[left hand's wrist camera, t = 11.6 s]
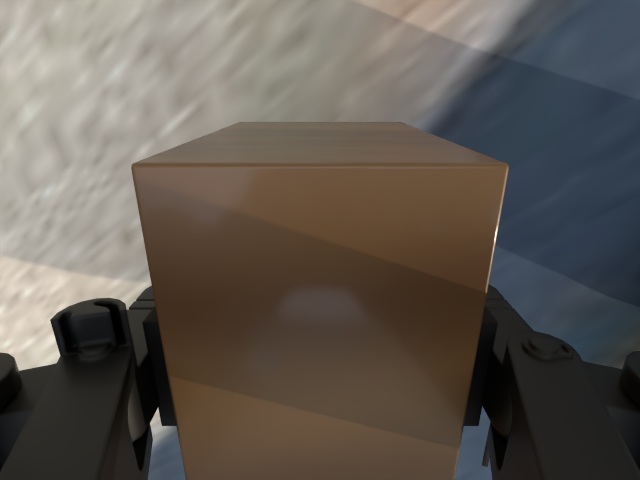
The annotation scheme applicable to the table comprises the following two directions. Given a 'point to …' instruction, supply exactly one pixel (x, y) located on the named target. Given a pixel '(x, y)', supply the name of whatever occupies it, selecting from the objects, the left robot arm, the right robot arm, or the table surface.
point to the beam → (320, 296)
